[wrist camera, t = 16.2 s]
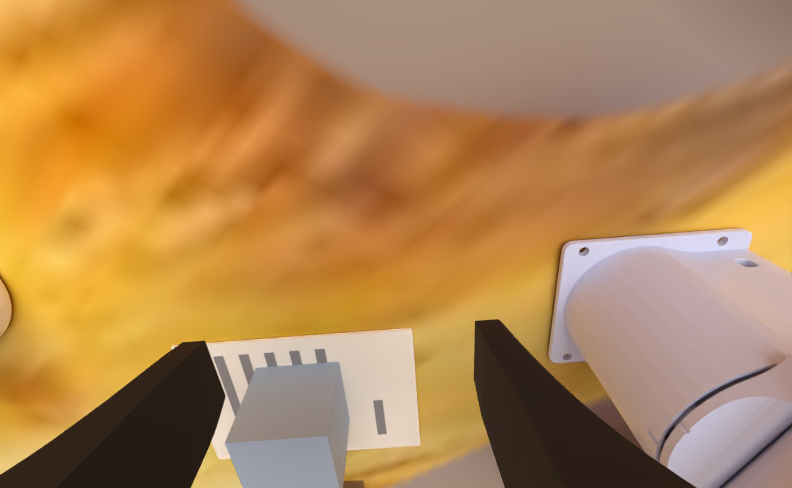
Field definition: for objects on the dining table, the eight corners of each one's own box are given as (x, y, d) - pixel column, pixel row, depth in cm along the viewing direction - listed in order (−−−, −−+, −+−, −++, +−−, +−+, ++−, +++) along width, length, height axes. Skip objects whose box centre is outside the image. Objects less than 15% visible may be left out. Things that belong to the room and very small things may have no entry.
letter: (412, 327, 22) (412, 330, 22) (420, 443, 27) (420, 445, 27) (172, 345, 23) (170, 347, 22) (220, 456, 27) (218, 459, 27)
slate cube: (338, 361, 23) (327, 435, 19) (349, 419, 25) (341, 498, 21) (256, 367, 23) (224, 443, 19) (274, 425, 25) (249, 504, 21)
